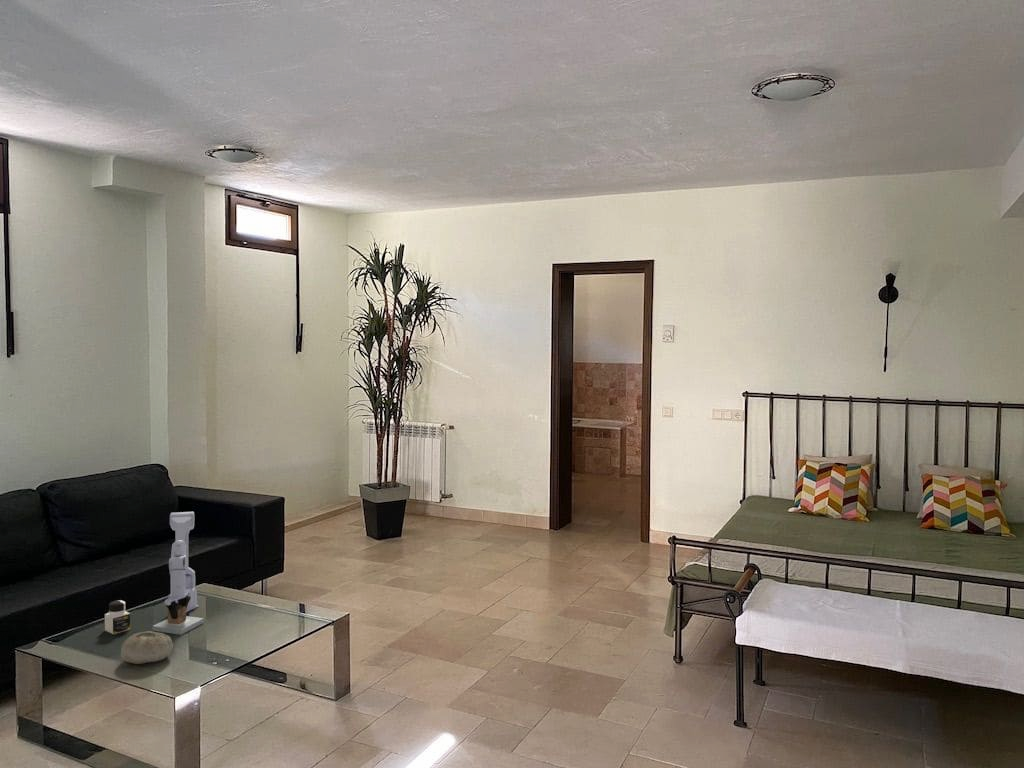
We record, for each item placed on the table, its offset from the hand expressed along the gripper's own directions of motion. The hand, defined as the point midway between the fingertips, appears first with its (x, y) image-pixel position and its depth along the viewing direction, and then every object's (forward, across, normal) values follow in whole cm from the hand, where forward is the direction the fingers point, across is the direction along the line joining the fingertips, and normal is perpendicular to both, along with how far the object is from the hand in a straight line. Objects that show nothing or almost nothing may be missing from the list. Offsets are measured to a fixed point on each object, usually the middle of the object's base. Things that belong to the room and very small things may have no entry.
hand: (178, 616), depth 331 cm
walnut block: (+2, 0, -1) cm, 2 cm away
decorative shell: (+5, +33, +10) cm, 35 cm away
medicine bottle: (+5, +10, -22) cm, 24 cm away
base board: (+4, 0, 0) cm, 4 cm away
